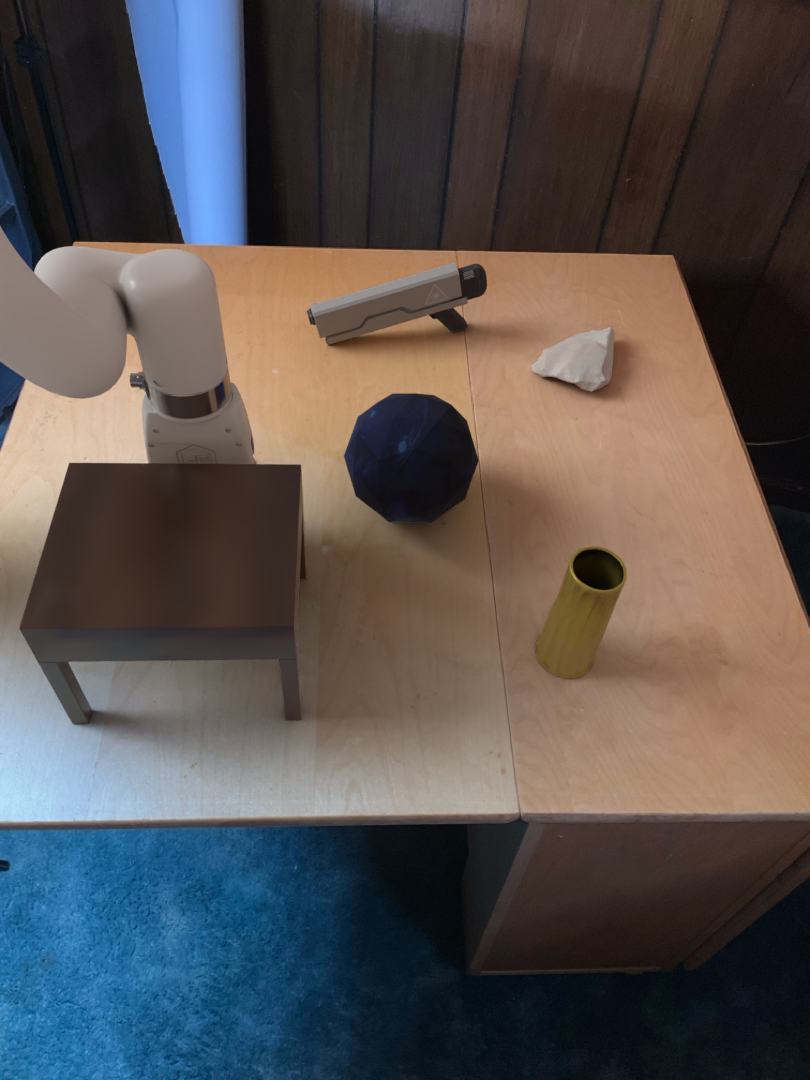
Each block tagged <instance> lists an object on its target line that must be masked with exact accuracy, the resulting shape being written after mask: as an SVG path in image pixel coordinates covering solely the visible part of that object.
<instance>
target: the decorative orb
mask: <svg viewBox="0 0 810 1080" xmlns="http://www.w3.org/2000/svg"><path fill="white" fill-rule="evenodd" d="M343 458H344V463H345V465H346V468H347V472H348V475H349V479H350V482H351V485H352V489H353V491H354V492H353V493H354V496H355V498H357V499H359V500H360V501H361V502H362V503H363V504H365V505H366V506H367V507H369V508H370V509H372V510H373V511H374V512H375V513H376V514H378V515H379V516H381V517H382V518H383V519H385V520H386V521H387V522H388V523H413V524H415V523H416V524H432V523H434V522H435V521H437V520H438V519H439V518H441V517H442V516H443V515H445V514H447V513H448V512H449V511H451V510H453V509H454V508H455V507H456V506H458V505H459V504H462V502H464V501H465V500H466V498H467V496H468V493H469V490H470V487H471V484H472V481H473V478H474V475H475V473H476V470H477V467H478V464H479V462H480V460H479V456H478V453H477V449H476V447H475V442H474V439H473V436H472V432H471V429H470V426H469V423H468V420H467V418H465V417H464V416H463V415H462V414H461V413H460V412H459V411H458V410H457V409H456V408H455V407H454V405H452V403H449V402H448V401H446V400H444V399H442V398H440V397H438V396H436V395H435V394H426V393H418V392H417V393H416V392H414V393H413V392H411V393H409V392H406V393H399V392H398V393H395V392H394V393H391V394H389V395H387V396H386V397H384V398H382V399H381V400H378V401H377V402H376V403H374V404H373V405H372V406H370V407H369V408H368V409H366V410H365V411H363V412H362V413H361V414H359V415H358V416H357V418H356V421H355V423H354V427H353V428H352V431H351V434H350V437H349V440H348V443H347V446H346V449H345V451H344V454H343Z"/></svg>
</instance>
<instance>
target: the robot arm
mask: <svg viewBox="0 0 810 1080" xmlns="http://www.w3.org/2000/svg"><path fill="white" fill-rule="evenodd" d="M128 335H130V336H131V337H132V338H133V339H134V341H135V344H136V349H137V352H138V356H139V361H140V364H141V368H142V371H138V372H131V373H130V374H129V385H130V388H135V389H137V388H139V390H143V391H144V397H143V399H142V401H141V404H142V405H141V420H142V421H141V423H142V431H143V439H144V446H145V447H144V448H145V452H146V459H147V463H174V464H258V463H257V461H256V459H255V457H254V454H255V441H254V436H253V432H252V427H251V424H250V423H251V422H250V419H249V416H248V412H247V408H246V406H245V403H244V399H243V397H242V395H241V392H240V391H239V389H238V386H237V385H236V384H235V383H234V382H232V381H231V377H230V370H229V362H228V355H227V349H226V342H225V336H224V329H223V321H222V314H221V309H220V301H219V294H218V287H217V281H216V277H215V273H214V272H213V270H212V268H211V266H210V265H209V263H207V261H206V260H205V259H204V258H202V257H201V256H200V255H197V254H195V253H193V252H190V251H187V250H184V249H180V248H179V249H178V248H162V249H156V250H152V251H148V252H146V253H137V252H136V253H135V252H126V251H120V250H119V251H118V250H111V249H105V248H99V247H92V246H78V245H77V246H76V245H69V246H62V247H58V248H54V249H52V250H50V251H48V252H46V253H45V254H43V256H42V257H40V260H38V262H37V263H36V266H35V268H34V271H33V270H32V269H31V267H30V266H29V265H28V264H27V263H26V261H25V260H24V259H23V258H22V257H21V256H20V254H19V252H18V251H17V250H16V249H15V247H14V245H13V244H12V242H11V241H10V240H9V239H8V237H7V235H6V233H5V232H4V230H3V228H2V226H1V225H0V363H2V364H3V365H4V366H6V367H7V368H9V369H10V370H12V371H13V372H15V373H16V374H17V375H19V376H20V377H22V378H23V379H24V380H27V381H28V382H29V383H32V384H33V385H35V386H36V387H39V388H41V389H43V390H45V391H47V392H49V393H52V394H55V395H58V396H60V397H64V398H70V399H78V400H82V399H91V398H96V397H98V396H99V397H100V396H101V395H103V394H105V393H107V392H109V391H110V390H111V389H112V388H113V387H115V385H117V383H118V382H119V380H120V379H121V378H122V376H123V372H124V370H125V367H126V363H127V350H128V347H127V346H128Z"/></svg>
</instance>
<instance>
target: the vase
mask: <svg viewBox="0 0 810 1080" xmlns="http://www.w3.org/2000/svg"><path fill="white" fill-rule="evenodd" d="M627 575H628V571H627V567H626V564H625V561H623V559H622V558H621V557H620V556H619V555H618V554H617V553H616V552H614V551H613V550H611V549H609V548H606V547H602V546H598V545H591V546H584V547H582V548H579V549H578V550H575V552H574V553H572V555H570V557H569V562H568V565H567V569H566V571H565V573H564V576H563V579H562V582H561V585H560V587H559V589H558V592H557V594H556V597H555V599H554V601H553V602H552V604H551V606H550V608H549V612H548V614H547V616H546V619H545V621H544V624H543V627H542V629H541V632H540V633H539V634H538V636H537V638H536V641H535V644H534V653H535V656H536V659H537V661H538V663H539V664H540V665H541V667H542V668H543V669H545V670H546V671H547V672H548V673H550V674H551V675H553V676H556V677H558V678H563V679H575V678H580V677H582V676H584V675H585V674H587V673H588V672H590V670H591V669H592V667H593V666H594V663H595V660H596V656H597V653H598V652H599V651H598V650H599V648H600V646H601V645H600V644H601V643H602V640H603V638H604V635H605V633H606V630H607V627H608V625H609V622H610V620H611V617H612V615H613V613H614V609H615V607H616V605H617V602H618V599H619V597H620V594H621V592H622V590H623V588H624V585H626V584H625V583H626V582H627V578H628V576H627Z"/></svg>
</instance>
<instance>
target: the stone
mask: <svg viewBox="0 0 810 1080" xmlns="http://www.w3.org/2000/svg"><path fill="white" fill-rule="evenodd" d="M615 337H616V336H615V331H614V328H613V327H611V326H608V327H606V328H602V329H593V330H592V329H591V330H589V331H584V332H580V333H575V334H574V335H572V336H570V337H567V338H565V339H563V340H561V341H560V342H557V343H556V344H554V345H553V346H550V347H546V348H544V349H543V350H542V352H541V355H540V356H539V357H538V358H537V360H536V361H534V362H533V363H532V364H531V365H530V369H531V371H532V372H533V373H534V374H535V375H537V376H538V377H540V378H549V377H550V378H556V379H559V380H561V381H563V382H565V383H569V384H574V385H575V386H577V387H578V388H579V389H580V390H582V391H587V392H595V391H597V390H599V389H601V388H603V387H605V386H607V385H609V384H610V382H611V379H612V375H613V365H614V350H615V349H614V340H615Z"/></svg>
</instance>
